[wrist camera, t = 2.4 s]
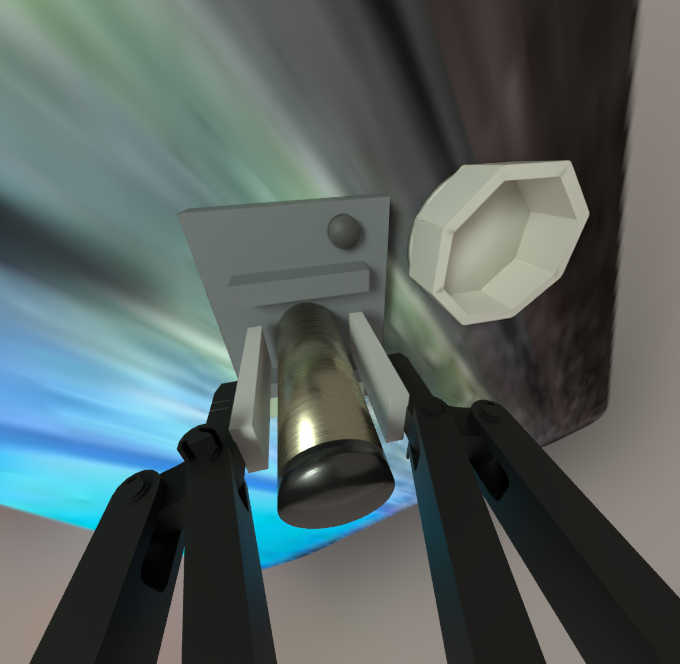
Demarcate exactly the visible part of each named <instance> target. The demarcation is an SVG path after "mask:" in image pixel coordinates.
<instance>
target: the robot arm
mask: <svg viewBox="0 0 680 664" xmlns="http://www.w3.org/2000/svg"><path fill="white" fill-rule="evenodd" d="M349 325H350V351H351V354H352V356H353V359H354V361H355V364H356V367H357V369H358V372H359V374H360V377H361V379H362V382H363V385H364V387H365V390H366V392H367V395H368V397H369V400H370V403H371V405H372V408H373V410H374V413H375V415H376V418H377V421H378V423H379V426H380V428H381V431H382V433H383V436H384V439H385V441H386V443H388V442H393V441H397V440H402V439H403V436H404V432H405V434H406V436H407V438H408V440H409V442H408V448H407V454H406V459H409V456H410V462H411V467H412V473H413V478H414V484H415V489H416V495H417V500H418V506H419V511H420V516H421V522H422V527H423V533H424V537H425V544H426V549H427V554H428V560H429V566H430V571H431V577H432V582H433V588H434V593H435V598H436V604H437V609H438V615H439V620H440V626H441V631H442V637H443V642H444V648H445V653H446V659H447V663H448V664H546V661H545V659H544V656H543V653H542V651H541V649H540V646H539V643H538V640H537V638H536V635H535V633H534V630H533V628H532V624H531V622H530V620H529V617H528V614H527V611H526V609H525V606H524V603H523V601H522V598H521V596H520V593H519V590H518V588H517V585H516V582H515V580H514V577H513V575H512V572H511V569H510V567H509V564H508V561H507V559H506V556H505V553H504V551H503V548H502V545H501V543H500V540H499V538H498V535H497V532H496V530H495V527H494V524H493V522H492V519H491V517H490V514H489V511H488V509H487V506H486V503H485V501H484V498H485V499H486V501H487V502H488V504H489V506H490V507H491V509H492V510H493V512H494V514H495V515H496V517H497V519H498V520H499V522H500V523H501V525H502V527H503V529H504V530H505V532H506V533H507V535H508V537H509V538H510V540H511V542H512V543H513V545H514V547H515V548H516V550H517V551H518V553H519V555H520V556H521V558H522V560H523V561H524V563H525V564H526V566H527V568H528V569H529V571H530V573H531V574H532V576H533V577H534V579H535V581H536V582H537V584H538V586H539V587H540V589H541V591H542V592H543V594H544V596H545V597H546V599H547V600H548V602H549V604H550V605H551V607H552V609H553V610H554V612H555V614H556V615H557V617H558V618H559V620H560V622H561V623H562V625H563V626H564V628H565V630H566V632H567V633H568V635H569V636H570V638H571V640H572V641H573V643H574V645H575V646H576V648H577V649H578V651H579V653H580V654H581V656H582V658H583V659H584V661H585V663H586V664H680V598H679V597H678V596H677V595H676V594H675V593H674V592H673V590H672V589H671V588H670V587H669V586H668V585H667V584H666V583H665V582H664V581H663V580H662V578H661V577H660V576H659V575H658V574H657V573H656V572H655V571H654V570H653V569H652V568H651V566H650V565H649V564H648V563H647V562H646V561H645V560H644V559H643V558H642V557H641V556H640V555H639V553H638V552H636V550H635V549H634V548H633V547H632V546H631V545H630V544H629V543H628V541H627V540H626V539H625V538H624V537H623V536H622V535H621V534H620V533H619V532H618V531H617V530H616V528H615V527H614V526H613V525H612V524H611V523H610V522H609V521H608V520H607V519H606V518H605V516H604V515H603V514H602V513H601V512H600V511H599V510H598V509H597V508H596V507H595V506H594V505H593V503H592V502H591V501H590V500H589V499H588V498H587V497H586V496H585V495H584V494H583V493H582V491H581V490H580V489H579V488H578V487H577V486H576V485H575V484H574V483H573V482H572V481H571V480H570V479H569V477H568V476H567V475H566V474H565V473H564V472H563V471H562V470H561V469H560V468H559V467H558V465H557V464H556V463H555V462H554V461H553V460H552V459H551V458H550V457H549V456H548V455H547V453H546V452H545V451H544V450H543V449H542V448H541V447H540V446H539V445H538V444H537V443H536V442H535V440H534V439H533V438H532V437H531V436H530V435H529V434H528V433H527V432H526V431H525V430H524V428H523V427H522V426H521V425H520V424H519V423H518V422H517V421H516V420H515V419H514V418H513V417H512V415H511V414H510V413H509V412H508V411H507V410H506V409H505V408H503V407H502V406H501V405H499V404H497V403H495V402H493V401H489V400H478V401H476V402H474V403H473V405H472V406H471V408H462V407H453V406H448V405H447V404H446V403H445V402H444V401H442V400H441V399H439V398H436V397H434V396H433V395H432V394H431V392H430V391H429V389H428V388H427V386H426V385H425V383H424V382H423V380H422V379H421V377H420V376H419V374H418V373H417V371H416V370H415V368H414V367H413V366H412V364H411V363H410V361H409V360H408V358H406V357H405V356H403V355H402V354H401V353H396V354H390V355H386V353H385V351H384V349H383V348H382V346H381V344H380V342H379V341H378V339H377V337H376V335H375V334H374V332H373V330H372V328H371V327H370V325H369V323H368V321H367V320H366V318H365V316H364V314H363V313H362V312H355V313H349ZM271 369H272V363H271V359H270V355H269V352H268V348H267V344H266V340H265V336H264V332H263V328H262V326H258V327H251V328H248V329H247V334H246V340H245V345H244V350H243V356H242V361H241V366H240V372H239V377H238V381H235V382H229V383H223V384H221V385H220V387H219V388H218V389H217V390H216V392H215V393H214V397H213V400H212V404H211V408H210V412H209V415H208V418H207V422H206V424H202V425H199V426H197V427H195V428H193V429H191V430H190V431H188V432H187V433H186V434H185V435H184V436H183V437H182V439H181V440H180V441H179V443H178V447H177V451H178V452H179V453H180V455H181V456H182V458H183V459H184V461H185V462H183V463H181V464H179V465H177V466H175V467H173V468H171V469H169V470H167V471H165V472H163V473H161V474H159V473H158V472H156V471H154V470H143V471H140V472H138V473H135V474H134V475H132V476H131V477H129V478H127V479H126V480H125V481H124V482H123V483H122V484H121V485H120V486H119V487H118V488H117V489H116V491H115V492H114V494H113V495H112V497H111V499H110V501H109V503H108V505H107V507H106V509H105V511H104V513H103V515H102V518H101V520H100V522H99V524H98V526H97V528H96V530H95V532H94V534H93V536H92V538H91V540H90V542H89V544H88V546H87V548H86V550H85V552H84V554H83V556H82V558H81V560H80V562H79V564H78V566H77V568H76V570H75V572H74V574H73V576H72V579H71V580H70V582H69V585H68V587H67V588H66V590H65V593H64V595H63V597H62V599H61V601H60V603H59V605H58V607H57V609H56V611H55V613H54V615H53V617H52V619H51V621H50V623H49V625H48V627H47V629H46V631H45V633H44V635H43V637H42V639H41V641H40V643H39V645H38V647H37V649H36V651H35V654H34V655H33V657H32V660H31V661H30V664H156V663H157V659H158V655H159V651H160V647H161V642H162V638H163V634H164V630H165V626H166V621H167V617H168V613H169V609H170V605H171V601H172V596H173V592H174V588H175V584H176V579H177V575H178V571H179V567H180V563H181V559H182V554H183V550H184V546H185V550H184V590H183V592H184V593H183V632H182V664H277V660H276V654H275V648H274V642H273V637H272V630H271V624H270V619H269V613H268V607H267V601H266V595H265V589H264V583H263V577H262V571H261V565H260V559H259V553H258V547H257V541H256V536H255V530H254V524H253V518H252V512H251V506H250V500H249V494H248V488H247V484H246V481H245V479H244V475H245V466H246V469H247V471H248V473H251V472H256V471H260V470H265V469H268V460H269V429H270V399H271ZM482 494H483V495H482ZM483 496H484V498H483Z"/></svg>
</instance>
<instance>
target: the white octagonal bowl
mask: <svg viewBox="0 0 680 664" xmlns="http://www.w3.org/2000/svg"><path fill="white" fill-rule="evenodd" d="M588 214H589V211H588V208H587V205H586V202H585V199H584V197H583V194H582V191H581V188H580V185H579V183H578V180H577V177H576V174H575V172H574V169H573V166H572V163H571V161H518V162H503V163H483V164H473V165H463V166H461V168H460V169H459V170H458V171H457V172H456V173H454V174H453V175H451V176H450V177H448V178H447V179H446V180H444V181H443V182H442V183H441V184H440V185H439V186H438V187H437V188H436V189H435V190H434V191H433V192H432V193H431V194H430V195H429V197H428V198H427V199H426V201H425V202H424V204H423V205H422V207H421V208H420V210H419V212H418V214H417V216H416V218H415V220H414V223H413V225H412V228H411V232H410V236H409V241H408V263H409V268H410V271H409V275H410V277H411V278H412V279H414V280H415V281H416V282H417V284H418V285H419V286H420V287H421V288H422V289H423V290H425V291H426V292H427V293H428V294H429V295H430V296H431V297H432V298H433V299H434V300H435V301H436V302H437V303H438V304H439V305H440V306H441V307H442V308H444V309H445V310H446V311H447V312H448V313H449V314H450V315H452V316H453V317H454V318H455V319H456V320H457V321H459V322H460V323H461V324H462V325H468V324H475V323H481V322H487V321H493V320H500V319H506V318H512V317H514V316H515V315H516V314H517V313H518V312H520V311H521V310H522V309H523V308H524V307H526V306H527V305H528V304H529V303H530V302H532V301H533V300H534V299H535V298H536V297H538V296H539V295H540V294H541V293H542V292H544V291H545V290H546V289H547V288H548V287H550V286H551V285H552V284H553V283H554V282H556V281H557V280H558V279H559V278H560V277H561V276H562V274H563V272H564V270H565V268H566V265H567V263H568V261H569V259H570V257H571V254H572V252H573V250H574V248H575V245H576V243H577V241H578V239H579V236H580V234H581V232H582V230H583V227H584V225H585V223H586V221H587V219H588V216H589V215H588Z"/></svg>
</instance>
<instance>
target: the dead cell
mask: <svg viewBox="0 0 680 664" xmlns="http://www.w3.org/2000/svg"><path fill="white" fill-rule="evenodd" d="M394 487H395V481H394V478H393V475H392V472H391V470H390V467H389V464H388V462H387V459H386V456H385V454H384V451H383V448H382V445H381V443H380V440H379V437H378V435H377V432H376V429H375V427H374V424H373V421H372V418H371V416H370V413H369V410H368V408H367V405H366V402H365V400H364V397H363V394H362V392H361V389H360V386H359V383H358V381H357V378H356V375H355V373H354V370H353V367H352V365H351V362H350V359H349V356H348V354H347V351H346V348H345V346H344V343H343V340H342V338H341V335H340V332H339V330H338V327H337V324H336V321H335V319H334V317H333V315H332V313H331V312H330V311H329V310H328V309H327V308H325V307H324V306H322V305H320V304H316V303H308V302H307V303H300V304H297V305H294V306H292V307H291V308H289V309H288V310H286V311H285V312H284V314H283V315H282V316H281V318H280V320H279V323H278V490H277V511H278V515H279V517H280V518H281V519H282V520H283V521H284V522H285V523H287V524H289V525H291V526H295V527H299V528H306V529H320V528H329V527H334V526H339V525H343V524H346V523H349V522H352V521H355V520H357V519H360V518H362V517H364V516H366V515H368V514H370V513H372V512H373V511H375V510H376V509H378V508H379V507H380V506H382V505H383V504H384V503H385V502H386V501H387V500H388V499H389V497H390V496H391V494H392V493H393V491H394Z"/></svg>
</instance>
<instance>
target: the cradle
mask: <svg viewBox="0 0 680 664" xmlns="http://www.w3.org/2000/svg"><path fill="white" fill-rule="evenodd" d="M389 210H390V196H387V195H383V194H371V195H358V196H345V197H332V198H320V199H307V200H294V201H282V202H269V203H256V204H244V205H231V206H218V207H205V208H193V209H186V210H184V211H182V212H180V213H178V217H179V220H180V222H181V225H182V228H183V231H184V233H185V236H186V239H187V242H188V244H189V247H190V250H191V252H192V255H193V258H194V261H195V263H196V266H197V269H198V271H199V274H200V277H201V280H202V282H203V285H204V288H205V291H206V293H207V296H208V299H209V301H210V304H211V307H212V310H213V312H214V315H215V318H216V321H217V323H218V326H219V329H220V331H221V334H222V337H223V340H224V342H225V345H226V348H227V351H228V353H229V356H230V359H231V361H232V364H233V367H234V370H235V372H236V375H237V378H238V377H239V372H240V366H241V361H242V356H243V350H244V345H245V340H246V334H247V329H248V328H251V327H258V326H262V328H263V332H264V336H265V340H266V344H267V348H268V352H269V355H270V359H271V363H272V369H271V399H270V414H271V418H274V417H278V323H279V320H280V318H281V316H282V315H283V314H284V312H285V311H286V310H288V309H289V308H291V307H292V306H294V305H297V304H300V303H307V302H308V303H316V304H320V305H322V306H324V307H325V308H327V309H328V310H329V311H330V312H331V313H332V315H333V317H334V319H335V321H336V324H337V327H338V330H339V332H340V335H341V338H342V340H343V343H344V346H345V348H346V351H347V354H348V356H349V359H350V362H351V365H352V367H353V370H354V373H355V375H356V378H357V381H358V383H359V386H360V389H361V392H362V394H363V397H364V396H365V395H367V392H366V390H365V387H364V385H363V382H362V379H361V377H360V374H359V372H358V369H357V367H356V364H355V361H354V359H353V356H352V354H351V351H350V325H349V313H355V312H362V313H363V314H364V316H365V318H366V320H367V321H368V323H369V325H370V327H371V328H372V330H373V332H374V334H375V335H376V337H377V339H378V341H379V342H380V344H381V346H382V345H383V326H384V306H385V287H386V268H387V248H388V229H389Z"/></svg>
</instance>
